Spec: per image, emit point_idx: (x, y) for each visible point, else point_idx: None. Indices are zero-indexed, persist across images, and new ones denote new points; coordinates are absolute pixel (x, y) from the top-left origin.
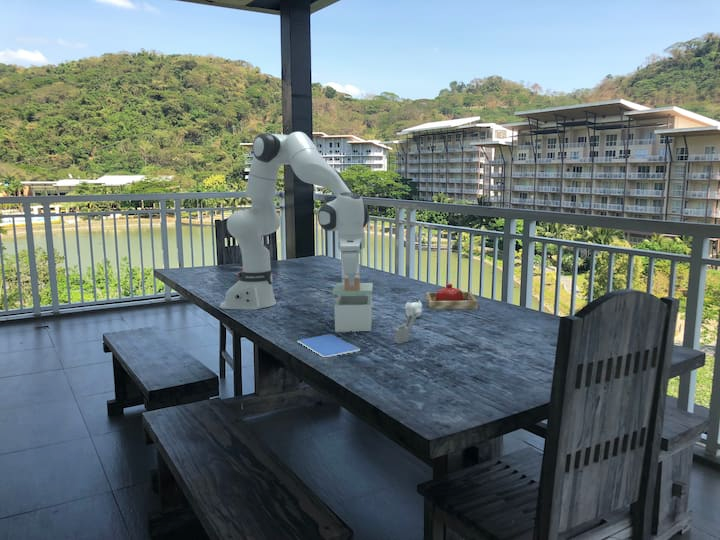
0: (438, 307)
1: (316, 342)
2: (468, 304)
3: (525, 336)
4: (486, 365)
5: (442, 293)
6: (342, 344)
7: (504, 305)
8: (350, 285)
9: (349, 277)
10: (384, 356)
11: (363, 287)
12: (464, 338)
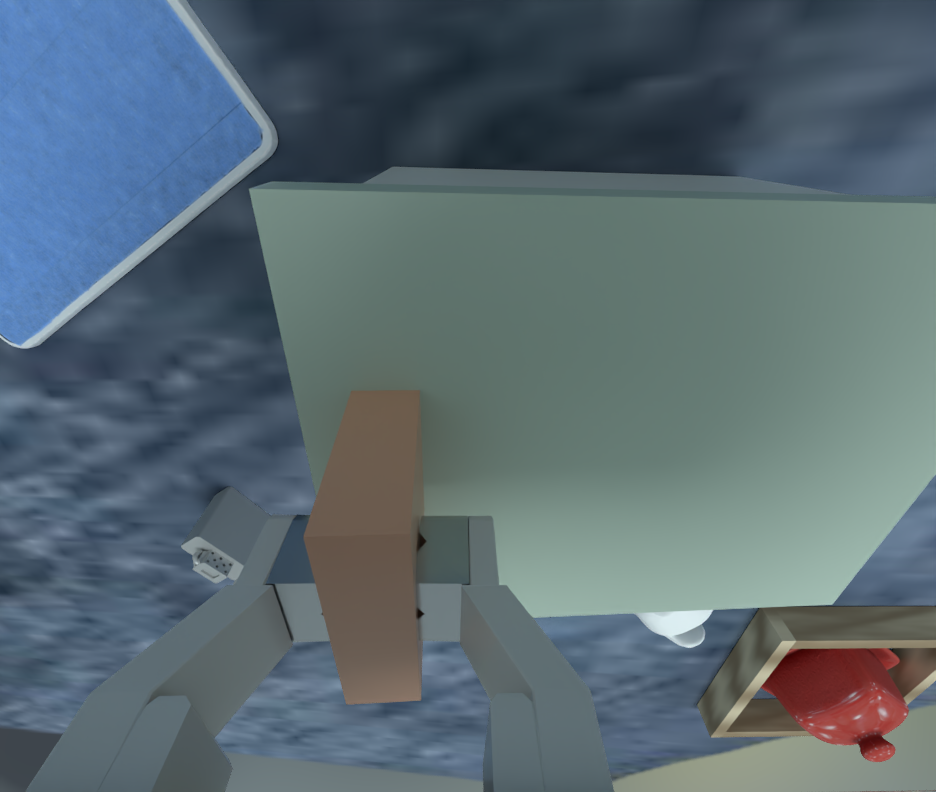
0: (751, 636)
1: (10, 19)
2: (715, 708)
3: (368, 742)
4: (71, 670)
5: (837, 698)
6: (53, 245)
7: (711, 746)
8: (280, 521)
9: (159, 658)
10: (3, 446)
11: (567, 559)
12: (331, 655)
